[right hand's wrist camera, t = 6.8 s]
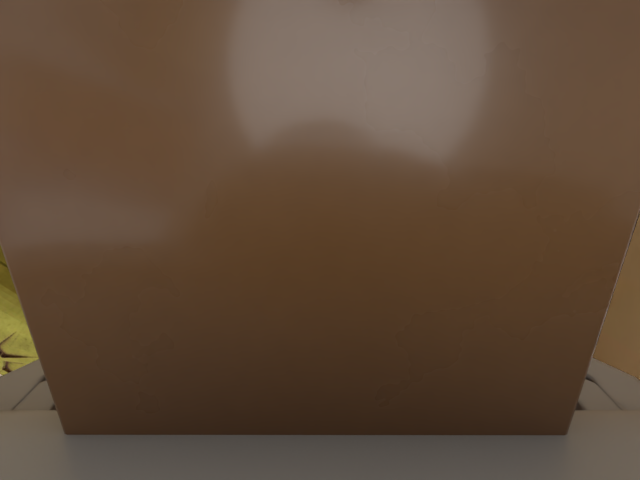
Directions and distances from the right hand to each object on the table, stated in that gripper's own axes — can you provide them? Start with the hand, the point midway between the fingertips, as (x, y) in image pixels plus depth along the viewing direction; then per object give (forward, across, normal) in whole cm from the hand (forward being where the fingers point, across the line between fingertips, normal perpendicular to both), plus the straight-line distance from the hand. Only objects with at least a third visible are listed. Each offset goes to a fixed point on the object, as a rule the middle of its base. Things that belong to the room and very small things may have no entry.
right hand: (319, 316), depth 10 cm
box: (+4, 0, +9) cm, 10 cm away
